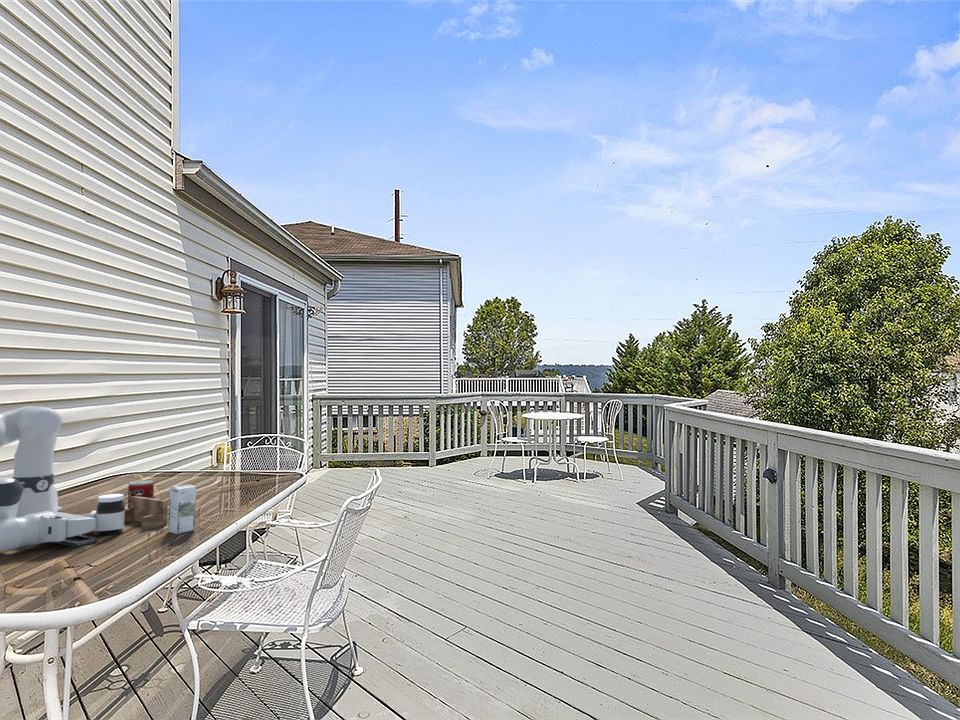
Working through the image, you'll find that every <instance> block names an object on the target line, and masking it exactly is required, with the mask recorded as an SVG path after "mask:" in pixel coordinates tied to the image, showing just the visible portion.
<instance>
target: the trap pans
mask: <svg viewBox="0 0 960 720" xmlns="http://www.w3.org/2000/svg"><path fill="white" fill-rule="evenodd" d="M51 543H52V544H58V545H61V546H67V547H71V548H72V547H73V548H79V547H83V546H86V545H87V546H88V545H91V544H95V543H98V538H97V537H94V536H89V535H88V536H87V535H84V534H80V535H77V536H73V537H67V538H65V540H64V541H59V542H51Z"/></svg>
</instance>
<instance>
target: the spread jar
mask: <svg viewBox="0 0 960 720" xmlns="http://www.w3.org/2000/svg"><path fill="white" fill-rule="evenodd" d="M124 495H125V494H123V493H110V494H109V493H108V494H103V495H99V496H98V497H97V502H98V503H97V504H96V508H95V510H92V511H91V512H90V513H89V514H92V515H95V529H94V530H95V535H97V536H104V537H105V536H112V535H113V536H114V535H118V534H120V533H123V532H124V530H125V522H124V517H125V508H126V507H125V506H126V504H125V501H124ZM91 532H92V531H90V532H87V533H86V534H89V533H91Z"/></svg>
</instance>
